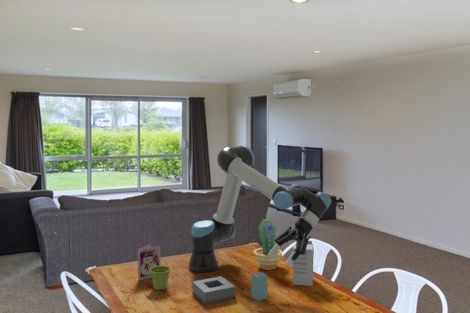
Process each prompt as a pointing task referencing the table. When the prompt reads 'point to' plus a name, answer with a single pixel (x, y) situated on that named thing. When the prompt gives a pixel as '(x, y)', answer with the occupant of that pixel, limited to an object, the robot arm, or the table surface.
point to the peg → (259, 286)
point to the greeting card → (148, 261)
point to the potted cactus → (267, 246)
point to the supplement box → (303, 267)
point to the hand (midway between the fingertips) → (278, 261)
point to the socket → (213, 290)
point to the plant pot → (160, 276)
